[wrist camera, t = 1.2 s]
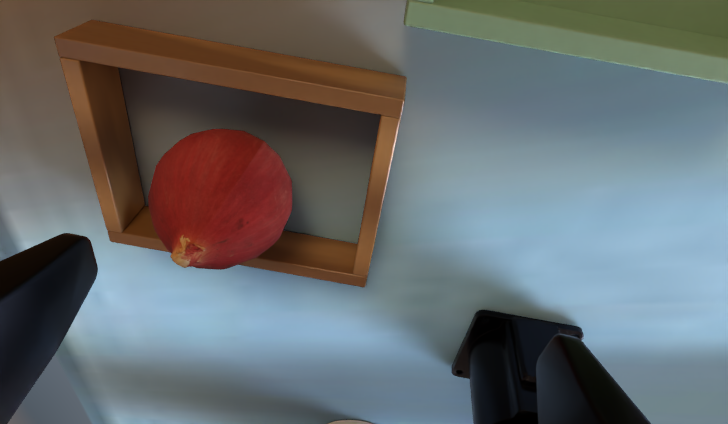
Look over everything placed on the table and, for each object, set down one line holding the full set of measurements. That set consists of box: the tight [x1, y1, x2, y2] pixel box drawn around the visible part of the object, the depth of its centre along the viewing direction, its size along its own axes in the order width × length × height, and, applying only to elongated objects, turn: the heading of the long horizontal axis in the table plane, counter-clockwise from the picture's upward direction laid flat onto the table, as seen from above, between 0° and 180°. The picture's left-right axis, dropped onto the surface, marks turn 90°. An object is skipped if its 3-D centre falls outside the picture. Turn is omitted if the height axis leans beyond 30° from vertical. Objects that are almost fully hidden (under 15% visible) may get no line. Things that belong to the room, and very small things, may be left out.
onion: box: [148, 129, 292, 269], centre depth 19 cm, size 6×6×8 cm
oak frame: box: [54, 20, 407, 287], centre depth 21 cm, size 11×14×2 cm
